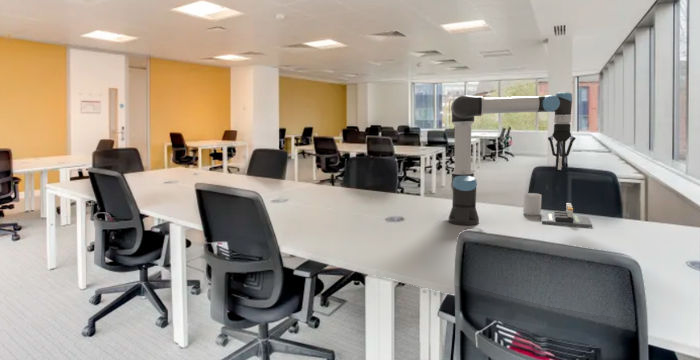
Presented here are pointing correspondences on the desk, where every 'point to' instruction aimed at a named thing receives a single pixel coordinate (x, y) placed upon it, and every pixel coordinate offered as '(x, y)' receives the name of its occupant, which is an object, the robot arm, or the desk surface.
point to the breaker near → (570, 212)
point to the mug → (532, 204)
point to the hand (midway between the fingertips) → (559, 169)
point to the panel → (581, 218)
